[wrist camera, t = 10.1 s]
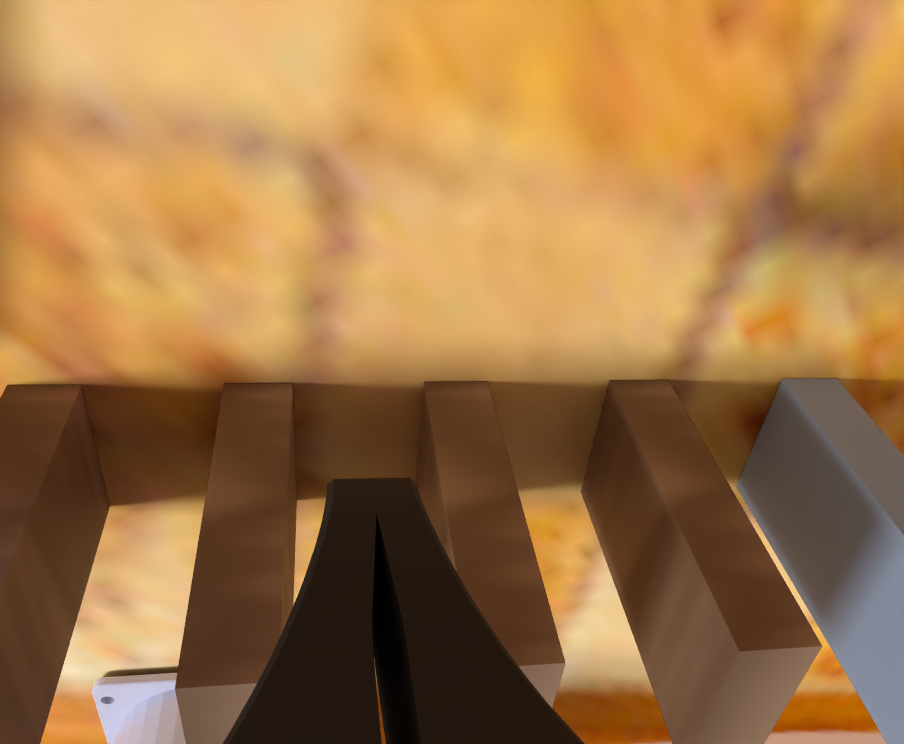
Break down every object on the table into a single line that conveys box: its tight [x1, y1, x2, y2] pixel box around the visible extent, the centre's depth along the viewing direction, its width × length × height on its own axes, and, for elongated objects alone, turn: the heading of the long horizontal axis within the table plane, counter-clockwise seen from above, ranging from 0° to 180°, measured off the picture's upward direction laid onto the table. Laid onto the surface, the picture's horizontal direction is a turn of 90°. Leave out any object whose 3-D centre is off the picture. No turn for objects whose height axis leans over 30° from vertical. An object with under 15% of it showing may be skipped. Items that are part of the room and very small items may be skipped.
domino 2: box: [175, 383, 297, 744], centre depth 21 cm, size 2×5×10 cm, turn 175°
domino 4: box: [581, 380, 822, 744], centre depth 23 cm, size 2×5×10 cm, turn 175°
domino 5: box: [736, 378, 904, 744], centre depth 24 cm, size 2×5×10 cm, turn 174°
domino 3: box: [416, 381, 565, 707], centre depth 22 cm, size 2×5×10 cm, turn 175°
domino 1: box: [0, 385, 110, 744], centre depth 20 cm, size 2×5×10 cm, turn 175°
